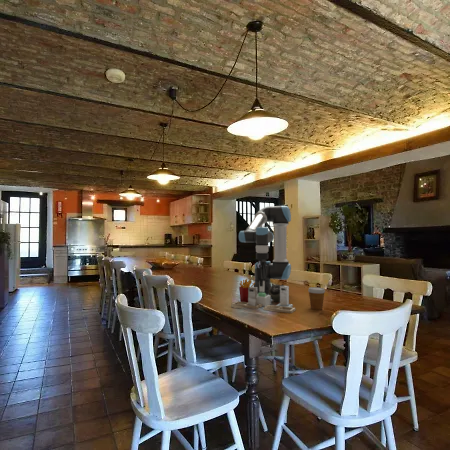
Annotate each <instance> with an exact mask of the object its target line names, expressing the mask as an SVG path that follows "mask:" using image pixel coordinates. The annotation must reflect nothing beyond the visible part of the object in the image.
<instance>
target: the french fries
mask: <svg viewBox="0 0 450 450" xmlns="http://www.w3.org/2000/svg"><path fill="white" fill-rule="evenodd" d="M254 284H255V281H254V282H253V281H252V279H251V278H250V279H249V280H248V278H246V279H243V280H240V283H239V286H238V290H239V300H240V301H239V302H248V288H249V287H253V286H254Z"/></svg>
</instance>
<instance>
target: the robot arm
mask: <svg viewBox="0 0 450 450" xmlns="http://www.w3.org/2000/svg"><path fill="white" fill-rule="evenodd" d="M291 221H292V214H291V209H290V208H289V206H287V205H276V206H274V205H272V206H271V205H270V206H269V205H268V206H265V207H263V208H261V209H260V210H258V211H256V213H255V215H254V218H253V220H252V221H251V222H250V223H249V225H248V227H246V229H245V230H240V231H239V233H238V240H239V242H240V243H255V252H256V253H255V259H256V260H258V261H257V262H256V263H254V282H255V284H254V285H253V286H252V287H257V295H258V293H260V292H262V293H266V295H269V289H270V288H271V287H272V283H271V280H280V281H281V280H288V279H289V278H290V276H291V272H292V271H291V270H292V265H291V263H289V262H290V261H289V260H288V259H287V239H288V238H287V227H288V226H289V224H290V223H289V222H291ZM266 223H272V225H273V226H274V233H273V232H272V231H270V230H269V228H268V226H265V227H263V225H264V224H266ZM273 241H274V259H273V260H272V263H271V261H270V260H268V259H269V253H268V252H269V244H270V243H271V242H273ZM267 260H268V261H267Z"/></svg>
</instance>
